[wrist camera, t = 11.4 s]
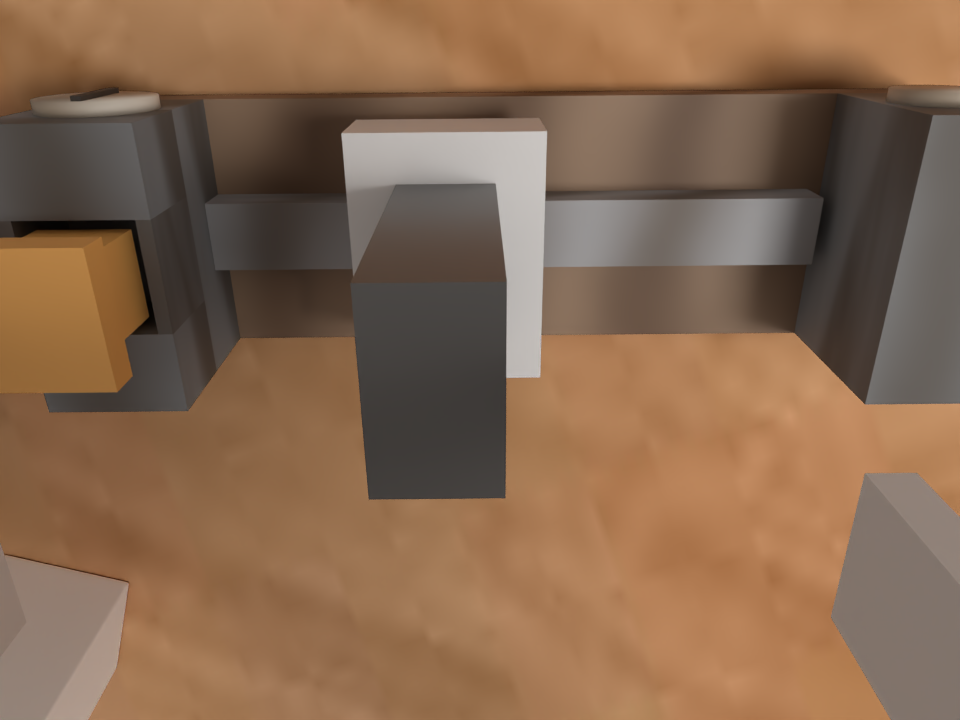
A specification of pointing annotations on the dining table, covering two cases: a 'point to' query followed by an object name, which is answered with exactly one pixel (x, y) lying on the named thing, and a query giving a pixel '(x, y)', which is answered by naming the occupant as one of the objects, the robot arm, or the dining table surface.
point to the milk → (60, 642)
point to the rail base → (569, 162)
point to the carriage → (443, 294)
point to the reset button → (68, 310)
